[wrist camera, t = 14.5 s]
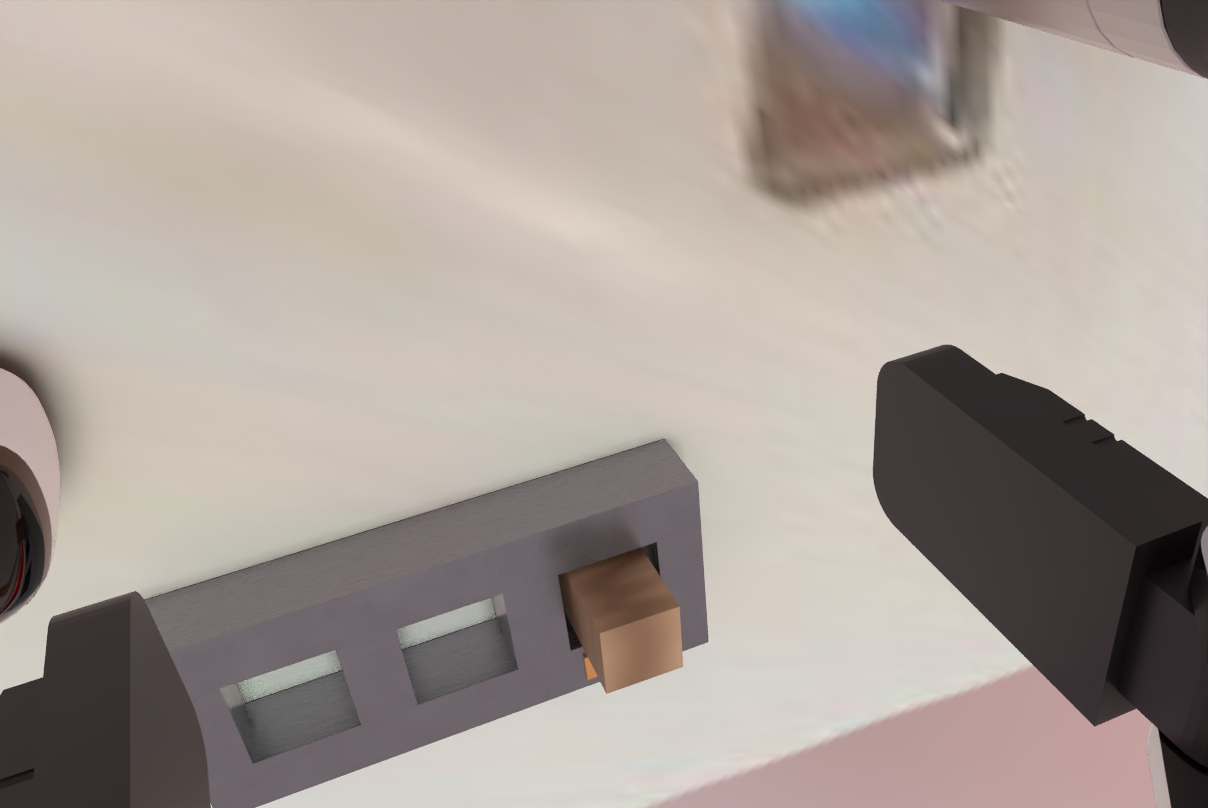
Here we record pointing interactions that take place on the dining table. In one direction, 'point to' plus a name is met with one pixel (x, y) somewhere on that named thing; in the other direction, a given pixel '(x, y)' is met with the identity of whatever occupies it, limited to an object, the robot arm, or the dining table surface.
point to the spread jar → (25, 494)
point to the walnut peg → (623, 619)
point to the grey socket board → (409, 595)
